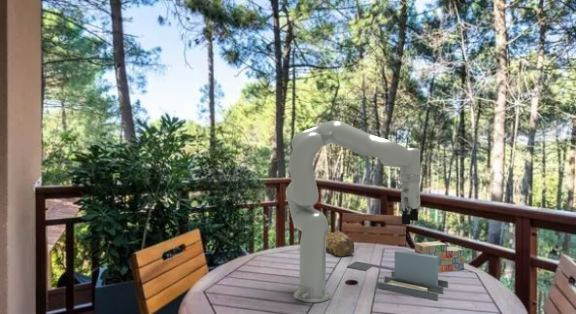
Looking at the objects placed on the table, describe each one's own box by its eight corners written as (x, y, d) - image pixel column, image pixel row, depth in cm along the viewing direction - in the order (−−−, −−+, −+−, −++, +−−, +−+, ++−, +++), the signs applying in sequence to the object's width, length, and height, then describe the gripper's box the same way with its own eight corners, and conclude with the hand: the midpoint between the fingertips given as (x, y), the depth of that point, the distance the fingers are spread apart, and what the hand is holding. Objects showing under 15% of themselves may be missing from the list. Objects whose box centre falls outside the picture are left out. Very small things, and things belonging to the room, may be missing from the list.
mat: (394, 276, 162) (394, 275, 162) (346, 267, 174) (346, 266, 174) (401, 270, 170) (401, 269, 170) (355, 262, 183) (355, 261, 183)
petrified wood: (358, 256, 192) (354, 237, 191) (334, 263, 190) (330, 243, 189) (345, 245, 211) (342, 228, 210) (323, 251, 209) (319, 234, 208)
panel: (436, 292, 144) (436, 258, 144) (394, 283, 153) (394, 251, 153) (438, 290, 147) (438, 256, 146) (396, 281, 156) (397, 250, 156)
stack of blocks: (454, 266, 178) (454, 239, 178) (464, 270, 172) (464, 242, 172) (414, 269, 172) (414, 242, 172) (423, 274, 166) (423, 245, 166)
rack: (437, 303, 133) (437, 294, 133) (377, 290, 146) (377, 282, 146) (448, 289, 147) (448, 281, 147) (392, 278, 160) (392, 271, 160)
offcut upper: (423, 296, 138) (423, 291, 138) (386, 287, 146) (386, 283, 146) (427, 292, 142) (427, 288, 141) (391, 284, 150) (391, 280, 150)
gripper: (413, 181, 142) (413, 227, 142) (425, 178, 156) (425, 220, 156) (393, 180, 146) (393, 224, 146) (407, 177, 160) (407, 218, 161)
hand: (410, 222), depth 151 cm, fingers open, 9 cm apart
